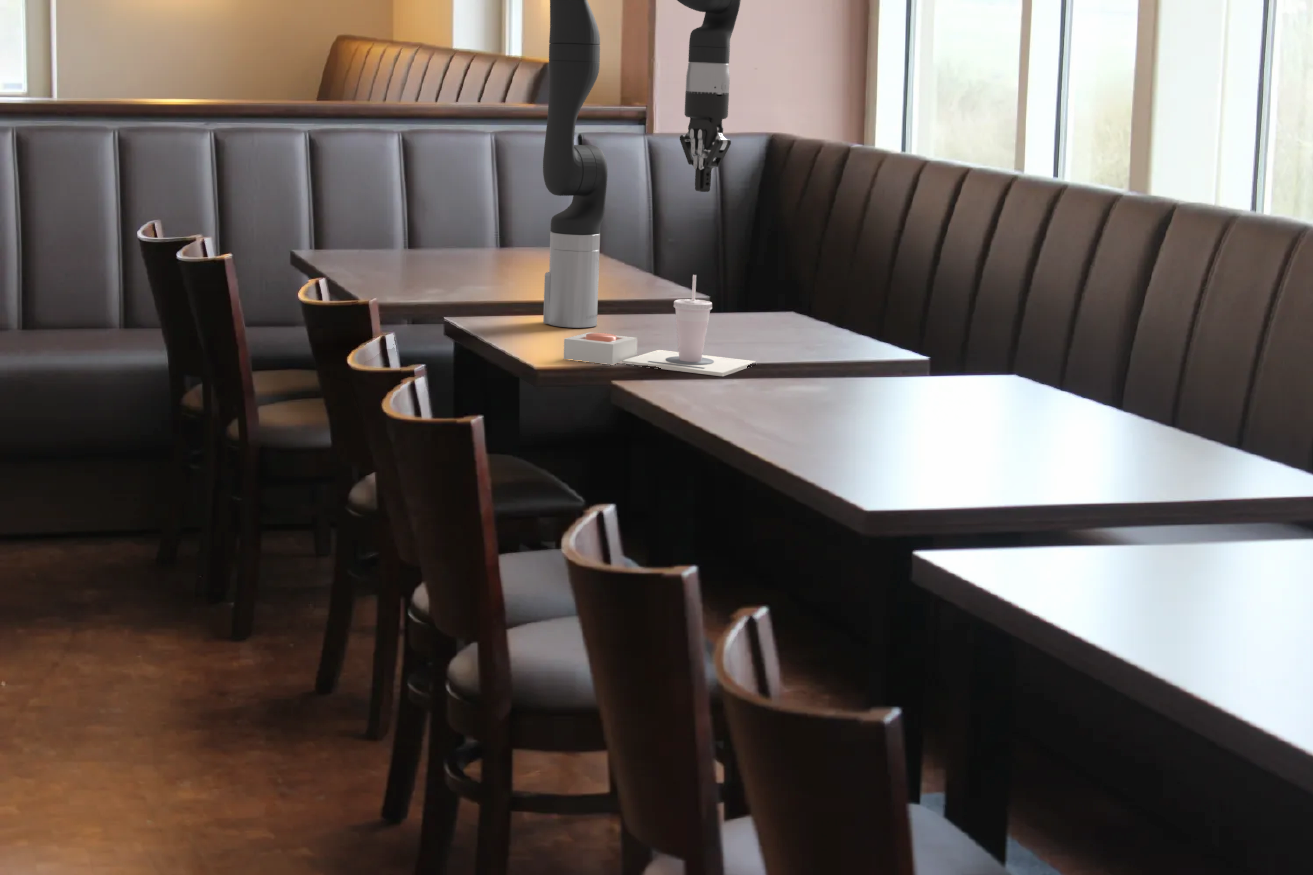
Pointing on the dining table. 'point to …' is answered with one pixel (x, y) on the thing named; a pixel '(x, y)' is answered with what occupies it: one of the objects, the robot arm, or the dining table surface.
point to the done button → (601, 337)
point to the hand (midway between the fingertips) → (702, 191)
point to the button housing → (600, 349)
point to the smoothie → (691, 326)
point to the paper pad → (690, 363)
